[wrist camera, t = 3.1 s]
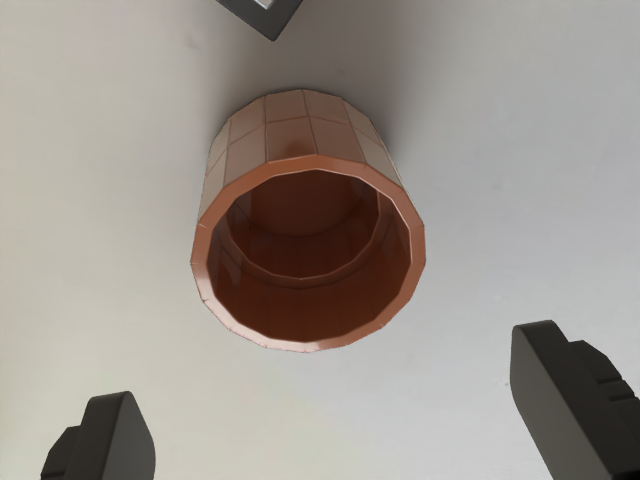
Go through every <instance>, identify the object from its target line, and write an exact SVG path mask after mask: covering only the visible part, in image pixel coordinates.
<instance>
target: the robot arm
mask: <svg viewBox="0 0 640 480" xmlns="http://www.w3.org/2000/svg"><path fill="white" fill-rule="evenodd" d="M510 385H511V391H512V395H513V398H514V401H515V404H516V406H517V409H518V411H519V413H520V415H521V416H522V418H523V420H524V422H525V424H526V426H527V428H528V430H529V432H530V434H531V436H532V438H533V440H534V442H535V444H536V446H537V448H538V450H539V452H540V454H541V456H542V458H543V460H544V462H545V464H546V466H547V468H548V470H549V472H550V474H551V476H552V478H553V480H640V400H639V398H638V397H635V395H634V392H633V391H632V389H631V388H630V387H629V385H628V384H627V383H626V381H625V380H622V376H621V375H620V373H619V372H618V371H617V369H616V368H615V367H614V365H613V364H612V363H611V361H610V360H609V359H608V357H607V356H606V355H604V354H603V353H601V352H600V351H598V350H597V349H595V348H594V347H593V346H591V345H590V344H588V343H587V342H585V341H584V340H580V341H574V342H568V340H567V339H566V337H565V336H564V334H563V333H562V331H561V330H560V329H559V327H558V326H557V324H556V323H555V322H554V321H552V320H544V321H539V322H533V323H527V324H521V325H516V326H514V327H513V330H512V344H511V364H510ZM155 461H156V459H155V448H154V443H153V439H152V437H151V434H150V432H149V430H148V428H147V425H146V423H145V421H144V418H143V416H142V414H141V412H140V409H139V407H138V405H137V403H136V400H135V398H134V396H133V394H132V393H131V392H130V391H124V392H119V393H113V394H107V395H101V396H95V397H92V398H91V399H90V400H89V401H88V404H87V406H86V409H85V413H84V416H83V419H82V422H81V425H80V426H74V427H68V428H67V429H66V430H65V431H64V433H63V434H62V435H61V436H60V438H59V439H58V440H57V442H56V443H55V444H54V445H53V447H52V448H51V449H50V451H49V453H48V456H47V459H46V461H45V464H44V467H43V470H42V472H41V480H153V478H154V472H155Z"/></svg>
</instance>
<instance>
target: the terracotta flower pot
mask: <svg viewBox="0 0 640 480" xmlns="http://www.w3.org/2000/svg"><path fill="white" fill-rule="evenodd" d="M190 263H191V264H190V265H191V269H192V272H193V275H194V278H195V281H196V285H197V288H198V291H199V294H200V297H201V300H202V301H203V303H204V304H205V305H206V306H207V307H208V308H209V309H210V311H211V312H212V313H213V314H214V315H215V316H216V317H217V318H218V319H219V320H220V321H221V323H222V324H223V325H224V326H225V327H226V328H227V329H229V330H230V331H232V332H234V333H236V334H238V335H240V336H242V337H244V338H246V339H248V340H250V341H252V342H254V343H256V344H258V345H260V346H262V347H266V348H272V349H279V350H287V351H295V352H302V353H305V352H306V353H308V352H314V351H320V350H325V349H331V348H337V347H343V346H346V345H349V344H351V343H353V342H355V341H357V340H359V339H361V338H363V337H365V336H367V335H369V334H371V333H373V332H375V331H377V330H379V329H381V328H382V327H384V326H385V325H386V324H387V323H388V322H389V321H390V320H391V319H392V318H393V317H394V316H395V315H396V314H397V313H398V312H399V311H400V310H401V309H402V308H403V307H404V306H405V305H406V304H407V303H408V302H409V301H410V298H412V296H413V293H414V291H415V288H416V286H417V284H418V281H419V279H420V276H421V274H422V272H423V269H424V267H425V263H426V250H425V229H424V224H423V221H422V219H421V217H420V215H419V213H418V211H417V209H416V207H415V205H414V203H413V201H412V199H411V197H410V195H409V193H408V191H407V189H406V187H405V185H404V183H403V181H402V179H401V177H400V175H399V173H398V171H397V169H396V167H395V165H394V163H393V161H392V159H391V157H390V155H389V153H388V151H387V149H386V147H385V145H384V143H383V141H382V140H381V138H380V136H379V134H378V133H377V131H376V129H375V127H374V126H373V124H372V122H371V120H370V119H368V117H366V116H365V115H364V114H362V113H361V112H360V111H358V110H357V109H355V108H354V107H353V106H351V105H350V104H349V103H347V102H346V101H344V100H343V99H341V98H339V97H337V96H332V95H328V94H324V93H319V92H315V91H311V90H306V89H303V90H300V89H299V90H293V91H287V92H281V93H275V94H269V95H266V96H265V97H264V96H262V97H260V98H259V99H257V100H255V101H254V102H252V103H251V104H249V105H247V106H246V107H244V108H243V109H241V110H239V111H238V112H236V113H235V114H233V115H232V117H230V118H229V120H228V121H227V122H226V124H225V125H224V127H223V128H222V130H221V131H220V133H219V134H218V136H217V137H216V138H215V140H214V141H213V143H212V146H211V147H210V152H209V158H208V163H207V169H206V175H205V180H204V186H203V191H202V197H201V203H200V208H199V214H198V219H197V225H196V231H195V237H194V242H193V248H192V254H191V260H190Z"/></svg>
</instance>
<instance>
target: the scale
mask: <svg viewBox="0 0 640 480" xmlns="http://www.w3.org/2000/svg"><path fill="white" fill-rule="evenodd" d="M216 1H217V2H219V3H220V4H222V5H223V6H224V7H226V8H227V9H228V10H230V11H231V12H232V13H234V14H235V15H236V16H238V17H239V18H241V19H242V20H243V21H245V22H246V23H247V24H249V25H250V26H251V27H253V28H254V29H256V30H257V31H258V32H260V33H261V34H262V35H264V36H265V37H266V38H268V39H269V40H271V41H272V42H274V41H276V39H277V38H278V36H279V35H280V33H281V32H282V31H283V29H284V28H285V26H286V25H287V23H288V22H289V20H290V19H291V17H292V16H293V14H294V13H295V12H296V10H297V9H298V7H299V6H300V4H301V3H302V1H303V0H275V2H274V3H273V5H272V6H271V8H270V9H269V10H265V9H264V8H262V7H261V6H260V5H258V4H257V3H256V2H255V1H253V0H216Z"/></svg>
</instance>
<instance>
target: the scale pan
mask: <svg viewBox="0 0 640 480" xmlns="http://www.w3.org/2000/svg"><path fill="white" fill-rule="evenodd" d="M253 1H255V2H256V3H257V4H258V5H260V6H261V7H262V8H264V9H265V10H269V9H270V8H271V6H272V5H273V3H274V2H275V0H253Z"/></svg>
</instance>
